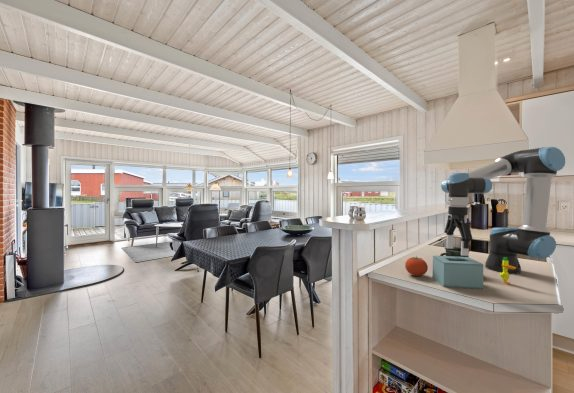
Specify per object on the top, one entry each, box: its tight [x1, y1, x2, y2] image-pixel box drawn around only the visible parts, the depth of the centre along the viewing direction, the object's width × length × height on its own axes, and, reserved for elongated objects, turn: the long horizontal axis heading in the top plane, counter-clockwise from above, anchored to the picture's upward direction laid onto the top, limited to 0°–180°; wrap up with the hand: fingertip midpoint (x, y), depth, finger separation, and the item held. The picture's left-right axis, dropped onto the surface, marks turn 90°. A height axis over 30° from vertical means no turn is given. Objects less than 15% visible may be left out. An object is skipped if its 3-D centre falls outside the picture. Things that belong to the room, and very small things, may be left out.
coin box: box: [431, 255, 484, 290], centre depth 119 cm, size 16×12×11 cm
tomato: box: [404, 255, 429, 277], centre depth 129 cm, size 10×10×10 cm
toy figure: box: [498, 258, 516, 285], centre depth 119 cm, size 7×4×12 cm, turn 18°
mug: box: [439, 246, 470, 258], centre depth 136 cm, size 11×15×12 cm
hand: (456, 251), depth 119 cm, fingers open, 13 cm apart
